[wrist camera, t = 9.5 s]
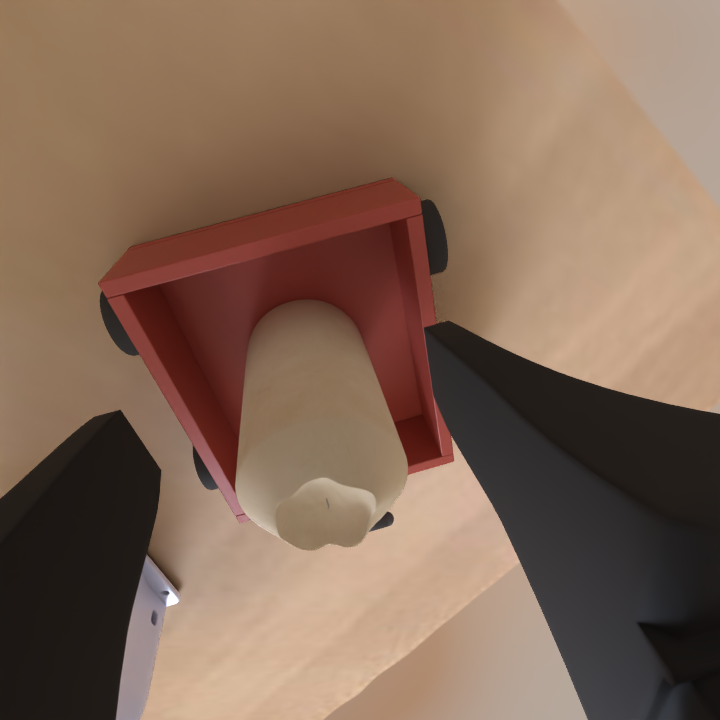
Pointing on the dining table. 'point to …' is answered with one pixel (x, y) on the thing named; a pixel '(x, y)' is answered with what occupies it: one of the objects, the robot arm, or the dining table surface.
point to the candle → (315, 430)
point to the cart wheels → (437, 264)
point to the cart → (273, 288)
